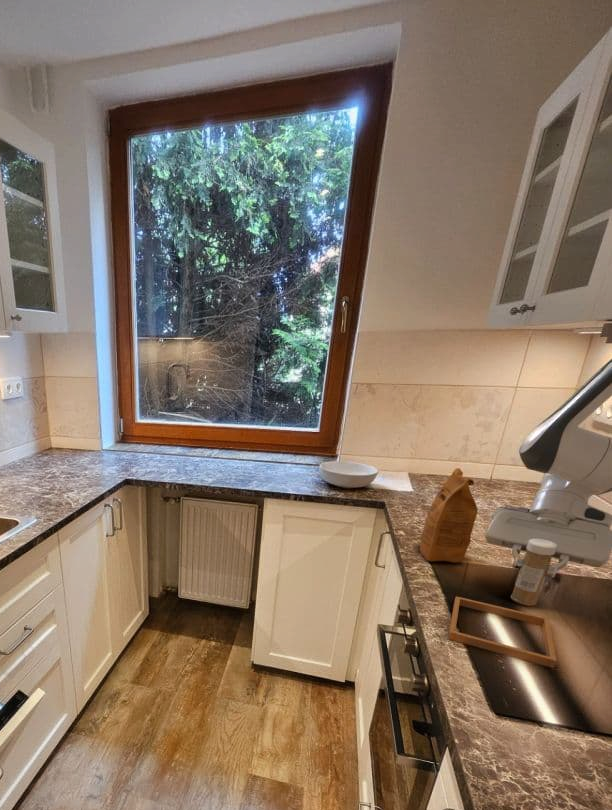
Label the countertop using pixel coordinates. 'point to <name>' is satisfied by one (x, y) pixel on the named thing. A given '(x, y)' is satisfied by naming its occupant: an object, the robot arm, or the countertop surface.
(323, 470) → the serving bowl
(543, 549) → the sprinkles bottle
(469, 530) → the coffee package
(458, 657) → the countertop surface
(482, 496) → the countertop surface
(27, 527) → the countertop surface
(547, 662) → the wooden frame
